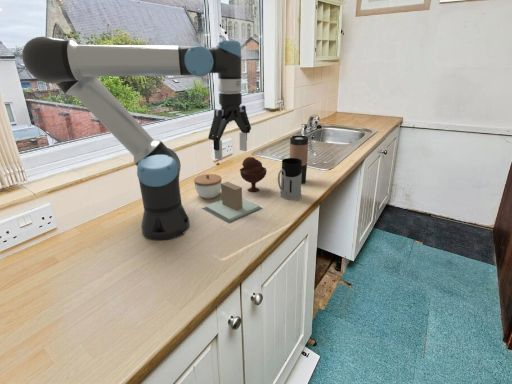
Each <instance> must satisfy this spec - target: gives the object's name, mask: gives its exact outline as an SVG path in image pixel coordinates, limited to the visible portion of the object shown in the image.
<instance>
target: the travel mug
mask: <svg viewBox="0 0 512 384" xmlns="http://www.w3.org/2000/svg"><path fill="white" fill-rule="evenodd" d="M308 151H309V137H308V136H306V135H300V134H299V135H292V136H291V137H289V158H297V159H300V160H302V169H301V170H302V180H301V185H304V184H306V182H307V170H308V168H307V167H308V155H309V154H308Z"/></svg>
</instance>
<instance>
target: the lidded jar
mask: <svg viewBox="0 0 512 384" xmlns="http://www.w3.org/2000/svg"><path fill="white" fill-rule="evenodd" d="M193 182H194V187H195V191H196V193H197V194H198V196H199V197H200V198H203V199H207V200H208V199H213V198H216V197H217V196H218V195H219V194H220V193H221V184H222V177H221V176H220V175H219V174H215V173H205V174H200V175H198V176H196V177H194V179H193Z"/></svg>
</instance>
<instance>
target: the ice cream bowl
mask: <svg viewBox="0 0 512 384" xmlns="http://www.w3.org/2000/svg"><path fill="white" fill-rule="evenodd" d="M241 165H242V167H241V168H239V172H240V176H241V178H242V179H243V180H244V181H245V182H248V183H250V184H251V185H250V186H251V187H250V188H247V192H249V193H252V194H253V193H259V192H260V188H258V187H256V184H257V183H259V182H260V181H262V180H263V179H264V178H265V177H266V175H267V168H266V167H264V166H263V163H262V162H261V161H260V160H258V159H257V158H255V157H253V156H248V157H245V159H244V160H243V161H242V163H241Z"/></svg>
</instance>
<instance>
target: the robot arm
mask: <svg viewBox="0 0 512 384" xmlns="http://www.w3.org/2000/svg"><path fill="white" fill-rule="evenodd" d="M241 48H242V47H241V42H240V41H238V40H218V41H217V42H216V46H215V47H206V46H204V45H200V44H199V45H196V44H195V45H133V44H132V45H130V44H129V45H122V44H121V45H119V44H117V45H116V44H96V45H95V44H77V43H76V41H74V40H70V39H67V38H64V37H63V38H62V37H50V36H37V37H34V38H31V39H30V40H28V41H27V42H26V43H25V44H24V46H23V49H22V53H21V54H22V57H21V58H22V62H23V64H24V67H25V69H26V70H27V72H29V73H30V75H32V76H33V77H34V78H35V79H36V80H38V81H41V82H42V83H45V84H51V85H52V84H53V85H54V84H55V85H56V86H57V87H58V88H59V89H60V90H61V91H62V92H63V93H64V94H65V95H66V96H71V97H72V96H73V97H76V99H77V100H78V101H79V102H80V103H81V104H82V105H83V106H84V107H85V108H86V109H87V110H88V111H89V112H90V113H91V114H92V115H93V116H94V117H95V118H96V119H97V120H98V122H100V124H101V125H103V126H104V127H105V128H106V129H107V130H108V132H110V133H111V134H112V135H113V137H114V138H116V140H117V141H118V142H120V144H122V146H124V148H125V149H126V150H127V151H128V152H129V153H130V154H131V155H132V156H133V164H135V166H136V167H137V168H136V169H137V172H136V174H137V178H138V182H139V187H140V189H139V190H140V193H141V198H142V199H141V200H142V205H143V215H142V220H141V227H140V228H141V232H142V235H143V236H144V237H145V238H146V239H149V240H153V241H165V240H167V241H168V240H171V239H172V240H173V239H174V238H175V239H176V238H177V237H179V236H182V235H184V234H185V232H186V231H187V230H188V229H189V228H190V224H191V223H190V219H189V215H188V214H187V211H186V210H185V208H184V206H183V204H182V197H181V187H180V172H181V161H180V157H179V156H178V154H177V152H175V151H174V150H173V149H171V148H169V147H167V145H165V144H164V143H163V141H162V140H160V139H154V138H153V137H152V136H151V135H150V134H149V132H147V130H146V129H145V128H144V127H143V126H142V125H141V124H140V123H139V122H138V120H136V119H135V117H134V116H133V115H132V114H131V113H130V112H129V111H128V110H127V108H125V106H124V105H122V103H121V102H120V101H119V100H118V99H117V98H116V97H115V96H114V95H113V94H112V93H111V92H110V90H109V89H108V88H107V87H106V86H105V85H104V83H102V81H101V80H99V77H147V76H148V77H155V76H156V77H157V76H161V77H162V76H163V77H166V76H169V77H170V76H171V77H172V76H183V77H184V76H190V77H191V76H195V77H205V76H208V74H217V75H218V79H217V81H218V83H217V84H218V87H217V88H218V92H219V93H218V104H219V105H220V106H221V108H220V109H216V108H215V109H214V110H213V111H214V112H213V118H212V123H211V126H210V130H209V133H208V137H207V138H208V139H209V140H211V141H213V151H214V158H215V159H216V160H219V161H222V160H223V158H224V157H223V140H222V139H221V138H222V137H223V135H224V132H225V130H226V127H227V126H228V125H229V123H231V122H233V121H234V122H235V124H236V125H237V127H238V128H239V130H240V132H239V150H240V151H242V152H243V151H244V152H247V151H248V146H247V145H248V143H247V142H248V134H250V132H251V130H252V127H251V123H250V119H249V117H248V114H247V109H246V108H247V107H246V105H243V104H242V103H243V102H242V101H243V100H242V99H243V98H242V97H243V95H242V93H241V92H242V57H243V56H242V49H241Z"/></svg>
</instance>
